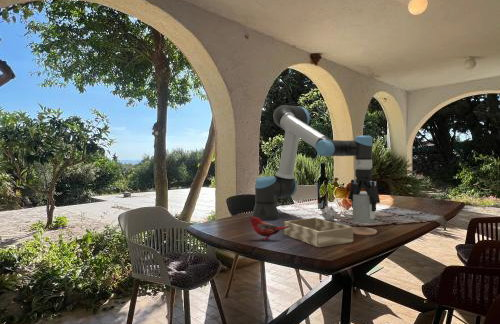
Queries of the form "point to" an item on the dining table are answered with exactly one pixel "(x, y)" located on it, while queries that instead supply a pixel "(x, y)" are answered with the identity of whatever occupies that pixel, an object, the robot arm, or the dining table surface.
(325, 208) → the grey rock
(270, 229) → the decorative bird figurine
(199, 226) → the dining table surface
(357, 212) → the white upright block
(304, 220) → the pine crate
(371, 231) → the terracotta tile
